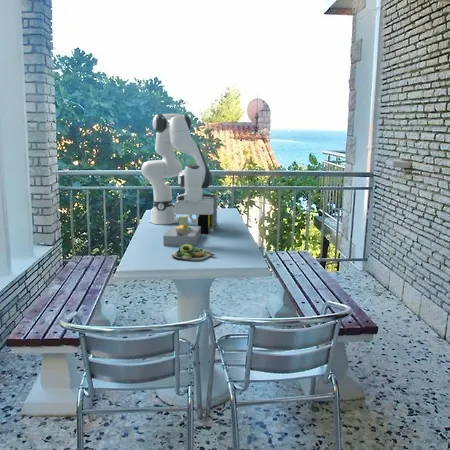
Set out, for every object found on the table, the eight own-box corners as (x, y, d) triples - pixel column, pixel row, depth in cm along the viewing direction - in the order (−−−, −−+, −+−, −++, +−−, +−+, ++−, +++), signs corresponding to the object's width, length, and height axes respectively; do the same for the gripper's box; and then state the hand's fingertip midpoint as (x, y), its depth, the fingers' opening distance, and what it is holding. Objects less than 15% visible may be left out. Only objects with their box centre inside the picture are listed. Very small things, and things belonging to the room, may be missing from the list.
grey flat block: (172, 234, 259) (172, 225, 258) (201, 235, 258) (200, 226, 257) (163, 245, 236) (163, 235, 235) (194, 246, 234) (194, 236, 233)
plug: (178, 234, 252) (178, 214, 250) (191, 234, 251) (190, 215, 249) (176, 237, 245) (175, 217, 243) (189, 237, 245) (188, 217, 242)
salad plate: (221, 253, 222) (221, 244, 221) (206, 264, 206) (206, 254, 205) (185, 249, 229) (185, 240, 228) (168, 259, 213) (167, 250, 212)
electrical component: (212, 234, 259) (211, 199, 255) (194, 233, 261) (194, 198, 257) (218, 227, 276) (218, 194, 271) (202, 227, 278) (201, 194, 273)
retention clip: (180, 230, 245) (180, 224, 245) (185, 230, 245) (185, 224, 245) (176, 235, 235) (176, 229, 234) (181, 235, 235) (181, 229, 234)
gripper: (214, 195, 239) (214, 221, 242) (175, 195, 241) (176, 221, 244) (213, 197, 233) (213, 224, 236) (173, 197, 235) (173, 223, 238)
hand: (194, 222), depth 240 cm, fingers closed
